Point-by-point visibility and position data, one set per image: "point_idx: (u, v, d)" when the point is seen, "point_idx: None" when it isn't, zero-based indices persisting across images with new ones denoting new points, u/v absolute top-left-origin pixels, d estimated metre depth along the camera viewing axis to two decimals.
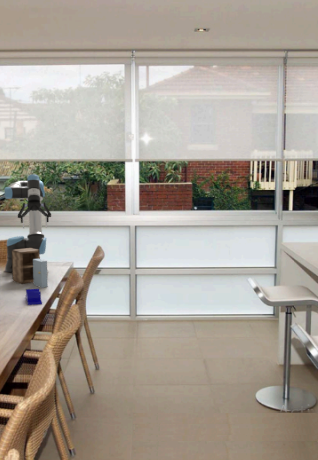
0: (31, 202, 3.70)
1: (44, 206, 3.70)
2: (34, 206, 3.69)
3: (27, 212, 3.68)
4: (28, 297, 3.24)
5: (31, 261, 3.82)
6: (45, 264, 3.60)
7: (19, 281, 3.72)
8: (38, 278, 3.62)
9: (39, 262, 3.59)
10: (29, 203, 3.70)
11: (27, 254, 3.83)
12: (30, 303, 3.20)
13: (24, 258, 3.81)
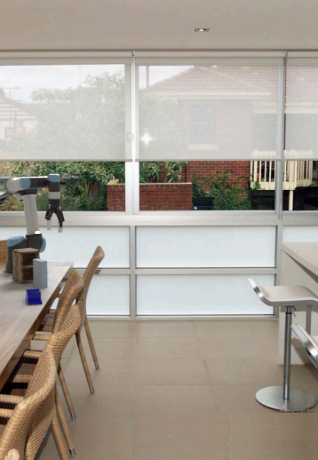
0: (51, 205, 3.81)
1: (58, 211, 3.76)
2: (53, 210, 3.80)
3: (51, 214, 3.85)
4: (28, 297, 3.24)
5: (31, 261, 3.82)
6: (45, 264, 3.60)
7: (19, 281, 3.72)
8: (38, 278, 3.62)
9: (39, 262, 3.59)
10: (50, 206, 3.82)
11: (27, 254, 3.83)
12: (30, 303, 3.20)
13: (24, 258, 3.81)
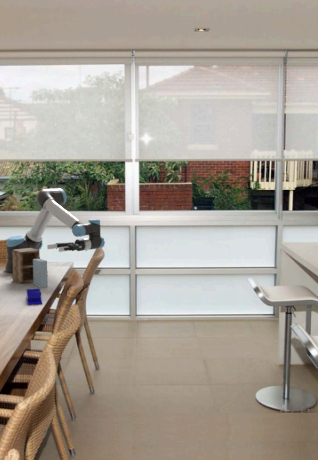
0: None
1: None
2: None
3: None
4: (28, 297, 3.24)
5: (31, 261, 3.82)
6: (45, 264, 3.60)
7: (19, 281, 3.72)
8: (38, 278, 3.62)
9: (39, 262, 3.59)
10: None
11: (27, 254, 3.83)
12: (30, 303, 3.20)
13: (24, 258, 3.81)
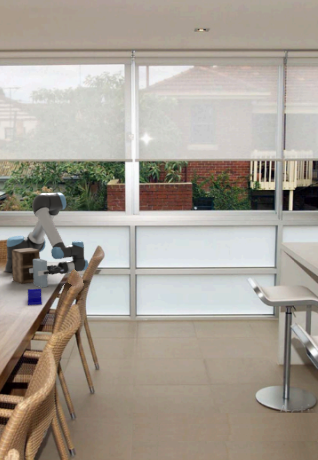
0: None
1: None
2: None
3: (52, 270, 3.66)
4: (29, 297, 3.24)
5: (31, 261, 3.82)
6: (45, 264, 3.60)
7: (19, 281, 3.72)
8: (38, 278, 3.62)
9: (39, 262, 3.59)
10: None
11: (27, 254, 3.83)
12: (30, 303, 3.19)
13: (24, 258, 3.81)
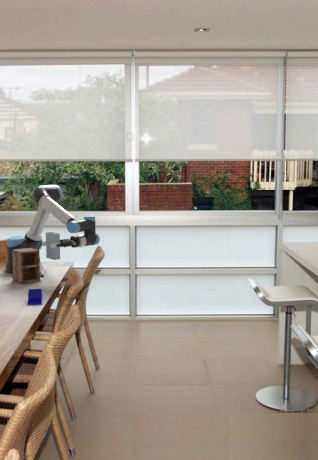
0: None
1: None
2: None
3: (65, 243, 3.73)
4: (29, 297, 3.24)
5: (31, 261, 3.82)
6: (58, 237, 3.67)
7: (19, 281, 3.72)
8: (51, 250, 3.69)
9: (52, 235, 3.67)
10: None
11: (27, 254, 3.83)
12: (30, 303, 3.19)
13: (24, 258, 3.81)
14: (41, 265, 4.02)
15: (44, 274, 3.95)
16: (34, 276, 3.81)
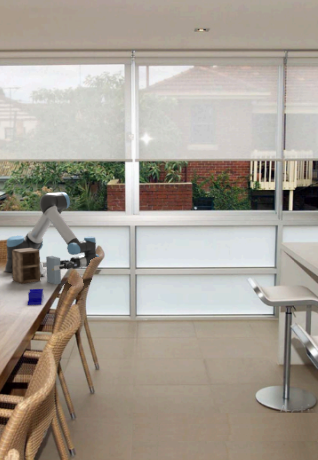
0: None
1: None
2: None
3: None
4: (29, 297, 3.24)
5: (31, 261, 3.82)
6: (58, 261, 3.69)
7: (19, 281, 3.72)
8: (51, 274, 3.71)
9: (52, 259, 3.69)
10: None
11: (27, 254, 3.83)
12: (29, 303, 3.19)
13: (24, 258, 3.81)
14: (40, 265, 4.02)
15: (44, 274, 3.95)
16: (34, 276, 3.81)
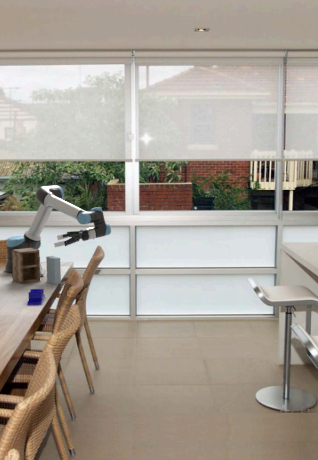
0: (81, 236, 3.84)
1: (75, 241, 3.90)
2: (77, 238, 3.84)
3: None
4: (29, 297, 3.24)
5: (31, 261, 3.82)
6: (58, 261, 3.69)
7: (19, 281, 3.72)
8: (51, 274, 3.71)
9: (53, 259, 3.69)
10: (81, 235, 3.83)
11: (27, 254, 3.83)
12: (29, 303, 3.19)
13: (24, 258, 3.81)
14: (40, 265, 4.02)
15: (43, 274, 3.95)
16: (34, 276, 3.81)
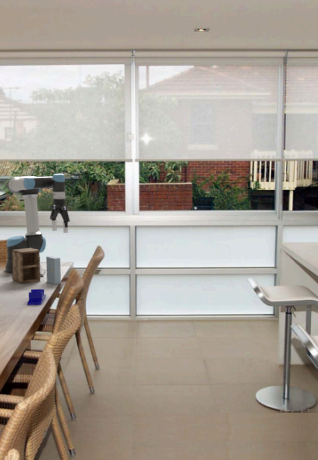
0: (56, 205, 3.79)
1: (63, 211, 3.73)
2: (58, 210, 3.78)
3: (56, 214, 3.83)
4: (29, 297, 3.24)
5: (31, 261, 3.82)
6: (58, 261, 3.69)
7: (19, 281, 3.72)
8: (51, 274, 3.71)
9: (52, 259, 3.69)
10: (55, 206, 3.80)
11: (27, 254, 3.83)
12: (29, 303, 3.19)
13: (24, 258, 3.81)
14: (40, 265, 4.02)
15: (43, 274, 3.95)
16: (34, 276, 3.81)
